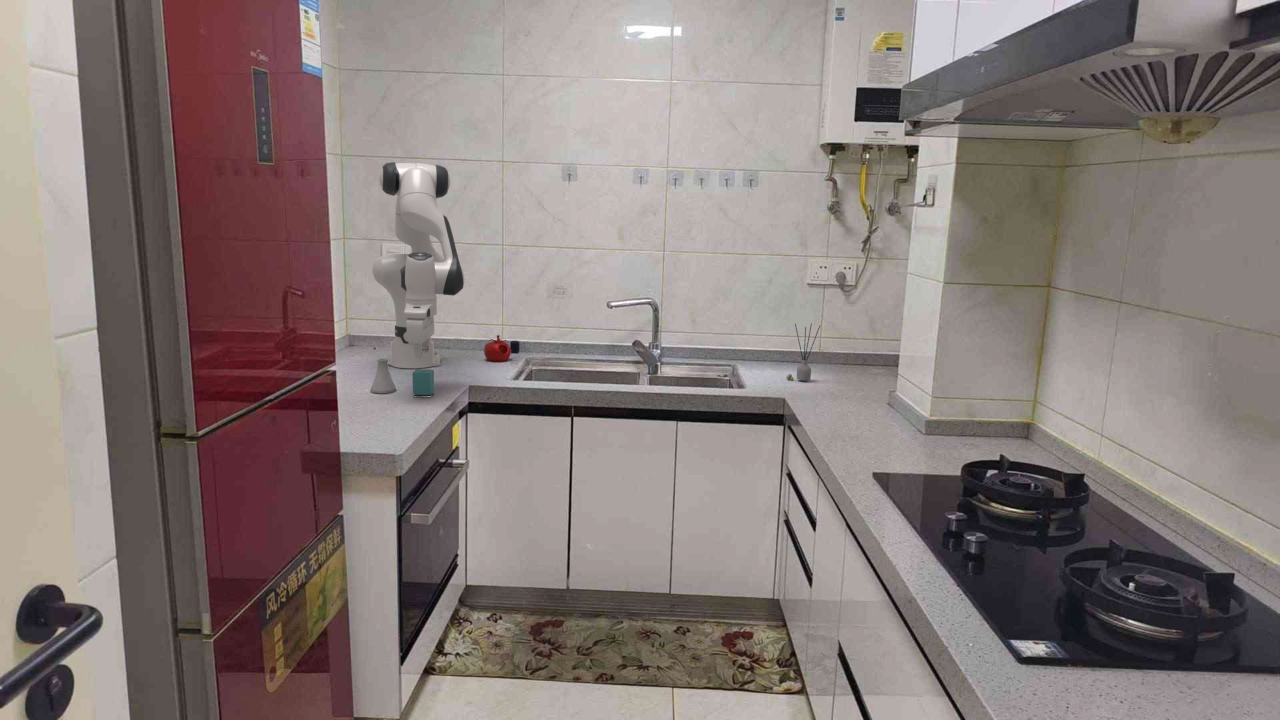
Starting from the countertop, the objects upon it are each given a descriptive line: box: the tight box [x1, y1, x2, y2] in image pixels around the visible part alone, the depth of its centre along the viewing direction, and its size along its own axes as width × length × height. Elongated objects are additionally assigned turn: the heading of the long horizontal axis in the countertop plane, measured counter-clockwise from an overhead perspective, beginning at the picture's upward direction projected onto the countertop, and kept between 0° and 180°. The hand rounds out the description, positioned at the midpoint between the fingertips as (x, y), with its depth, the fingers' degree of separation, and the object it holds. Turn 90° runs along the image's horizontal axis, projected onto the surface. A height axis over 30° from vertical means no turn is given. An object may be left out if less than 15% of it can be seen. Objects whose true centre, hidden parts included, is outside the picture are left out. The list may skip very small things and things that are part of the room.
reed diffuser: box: [786, 322, 821, 381], centre depth 281 cm, size 10×7×20 cm
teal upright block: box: [411, 368, 435, 396], centre depth 248 cm, size 5×5×7 cm
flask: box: [369, 357, 397, 395], centre depth 252 cm, size 7×7×10 cm
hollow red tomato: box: [483, 334, 512, 362], centre depth 306 cm, size 10×10×9 cm
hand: (422, 354), depth 247 cm, fingers open, 8 cm apart
